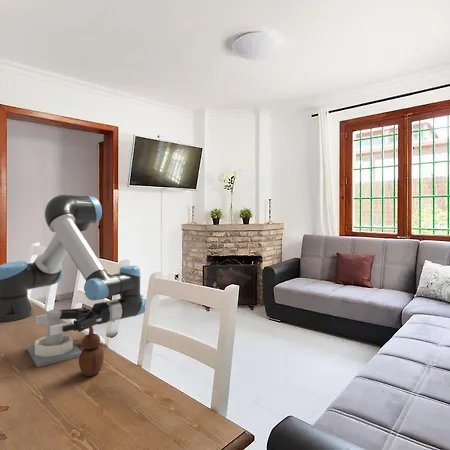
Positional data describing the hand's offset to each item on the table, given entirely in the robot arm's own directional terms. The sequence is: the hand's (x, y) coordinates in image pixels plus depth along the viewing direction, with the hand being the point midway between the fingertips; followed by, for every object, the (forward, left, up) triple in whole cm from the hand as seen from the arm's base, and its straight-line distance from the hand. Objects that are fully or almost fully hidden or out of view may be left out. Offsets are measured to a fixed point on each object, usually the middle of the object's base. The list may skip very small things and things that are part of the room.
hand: (43, 325), depth 109 cm
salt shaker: (-3, +2, -9) cm, 9 cm away
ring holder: (-3, +1, -9) cm, 9 cm away
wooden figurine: (+4, +22, -10) cm, 25 cm away
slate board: (-3, +1, -10) cm, 10 cm away
